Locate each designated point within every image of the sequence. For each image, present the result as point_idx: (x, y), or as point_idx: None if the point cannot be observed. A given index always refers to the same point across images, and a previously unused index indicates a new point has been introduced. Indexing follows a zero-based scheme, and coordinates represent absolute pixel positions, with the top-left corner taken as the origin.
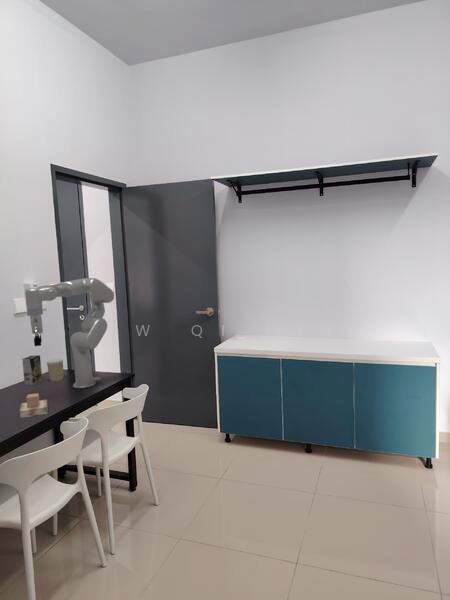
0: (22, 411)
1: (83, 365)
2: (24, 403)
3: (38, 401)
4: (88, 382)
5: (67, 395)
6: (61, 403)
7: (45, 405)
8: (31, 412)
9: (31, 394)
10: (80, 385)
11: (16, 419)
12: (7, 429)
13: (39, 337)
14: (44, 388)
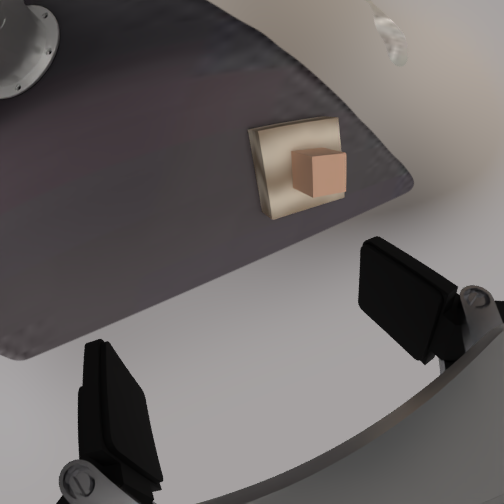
0: None
1: (14, 2)
2: (277, 207)
3: (320, 150)
4: (38, 18)
5: (136, 77)
6: (236, 81)
7: (323, 124)
8: None
9: (316, 183)
10: (43, 51)
11: None
12: (381, 200)
13: (481, 293)
14: (18, 222)
